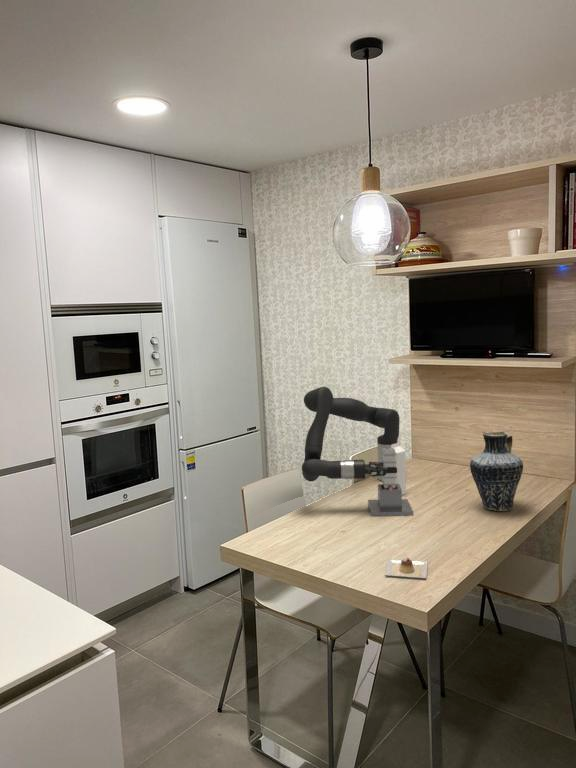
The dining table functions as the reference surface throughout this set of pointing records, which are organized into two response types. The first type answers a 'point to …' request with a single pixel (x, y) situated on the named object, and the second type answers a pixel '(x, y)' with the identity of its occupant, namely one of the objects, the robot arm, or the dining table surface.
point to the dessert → (406, 567)
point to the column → (389, 461)
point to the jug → (497, 471)
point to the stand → (389, 503)
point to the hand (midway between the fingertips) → (396, 468)
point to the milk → (400, 466)
